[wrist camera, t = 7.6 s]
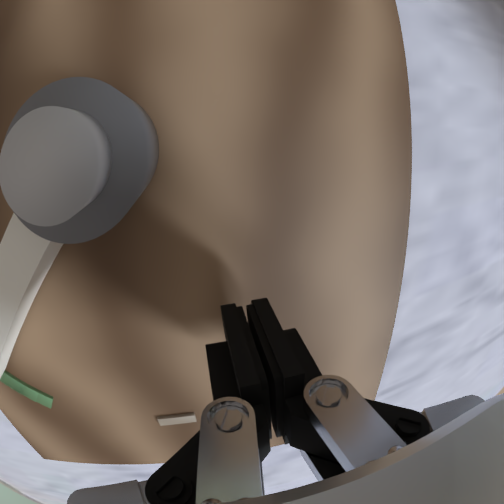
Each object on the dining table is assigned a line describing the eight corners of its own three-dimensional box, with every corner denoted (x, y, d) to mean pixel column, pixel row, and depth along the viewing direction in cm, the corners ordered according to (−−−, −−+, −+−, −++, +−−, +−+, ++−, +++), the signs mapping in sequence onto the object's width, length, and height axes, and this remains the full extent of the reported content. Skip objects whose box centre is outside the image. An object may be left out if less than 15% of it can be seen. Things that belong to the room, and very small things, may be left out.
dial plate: (363, -45, 8) (381, -57, 7) (360, 402, 19) (370, 418, 17) (-75, 46, 4) (-91, 43, 3) (47, 444, 15) (43, 460, 14)
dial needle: (184, 142, 9) (182, 145, 5) (25, 382, 11) (0, 446, 7) (98, 72, 8) (43, 34, 4) (-32, 337, 9) (-69, 392, 5)
